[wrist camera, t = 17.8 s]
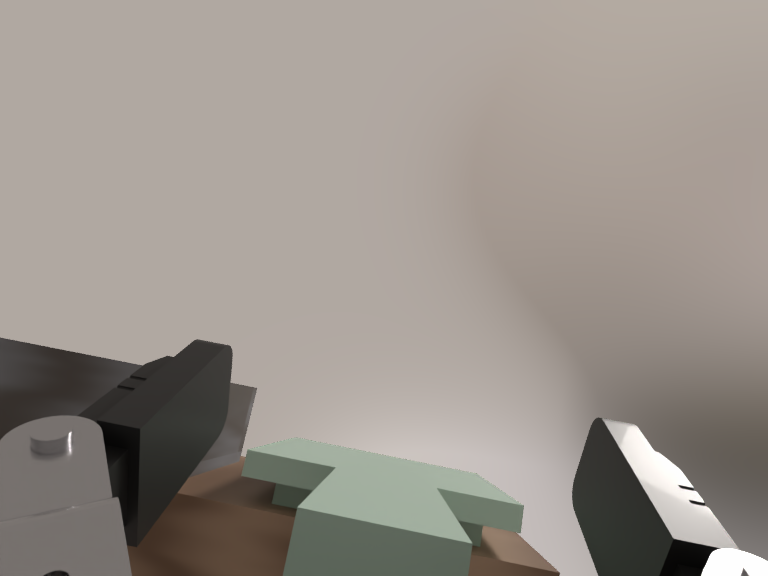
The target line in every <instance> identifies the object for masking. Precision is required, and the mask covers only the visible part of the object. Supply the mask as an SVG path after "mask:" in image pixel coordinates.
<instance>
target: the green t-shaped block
mask: <svg viewBox="0 0 768 576" xmlns="http://www.w3.org/2000/svg"><path fill="white" fill-rule="evenodd" d="M241 476H245V477H249V478H254V479H259V480H264V481H269V482H274V483H276V487H275V491H274V495H273V500H272V504H276V505H281V506H286V507H290V508H295V509H297V511H296V516H295V521H294V525H293V530H292V535H291V539H290V544H289V549H288V553H287V558H286V563H285V567H284V572H283V576H468V573H469V566H470V559H471V551H472V545H473V546H478V547H480V544H481V537H482V530H483V526H488V527H492V528H497V529H502V530H507V531H512V532H517V533H521V525H522V517H523V509H524V505H522V504H521V503H519V502H518V501H516V500H515V499H513V498H512V497H510V496H509V495H507V494H506V493H504V492H503V491H501V490H500V489H499V488H497V487H496V486H494V485H492V484H491V483H490V482H488V481H487V480H485V479H484V478H482V477H480V476H479V475H478V474H476V473H471V472H465V471H461V470H456V469H451V468H446V467H440V466H436V465H430V464H426V463H421V462H416V461H411V460H406V459H401V458H396V457H391V456H386V455H381V454H376V453H371V452H366V451H361V450H356V449H351V448H346V447H341V446H336V445H331V444H326V443H321V442H316V441H311V440H306V439H301V438H291V439H288V440H284V441H280V442H276V443H272V444H268V445H264V446H260V447H256V448H252V449H248V450H247V454H246V458H245V462H244V467H243V471H242V475H241Z"/></svg>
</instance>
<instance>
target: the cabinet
mask: <svg viewBox="0 0 768 576" xmlns="http://www.w3.org/2000/svg"><path fill="white" fill-rule="evenodd" d="M141 367H142V365H137V364H131V363H127V362H122V361H116V360H111V359H106V358H101V357H96V356H91V355H86V354H81V353H75V352H70V351H65V350H60V349H55V348H50V347H45V346H39V345H35V344H30V343H25V342H19V341H15V340H9V339H4V338H0V440H1V439H2V438H3V437H4V436H5V435H6V434H7V433H8V432H10V431H11V430H13V429H14V428H16V427H18V426H20V425H22V424H25V423H27V422H30V421H33V420H36V419H41V418H45V417H51V416H67V415H69V416H77V415H79V414H80V413H81V412H83V411H84V410H85V409H87V408H88V407H89V406H91V405H92V404H93V403H95V402H96V401H97V400H99V399H100V398H101V397H102V396H104V395H105V394H106V393H108V392H109V391H110V390H112V389H113V388H114V387H115V388H117V386H118V384H120V383H121V382H122V381H124V380H125V379H126V378H130V375H131V374H133V373H134V372H135V371H137V370H138V369H139V368H141ZM256 390H257V388H254V387H248V386H244V385H239V384H233V383H230V393H229V405H228V413H227V418H226V421H225V424H224V427H223V430H222V432H221V434H220V436H219V437H218V439H217V440H216V441H215V443H214V444H213V445H212V447H211V448H210V450H209V451H208V452H207V454H206V455H205V456H204V458H203V459H202V460H201V462H200V463H199V464H198V466H197V467H196V468H195V470H194V471H193V472H192V474H191V475H190V476H189V478H188V479H187V481H186V482H185V483H184V485H183V486H182V487H181V489H180V490H179V491H178V493H177V494H176V495H175V497H174V498H173V499H172V501H171V502H170V503H169V505H168V506H167V508H166V509H165V510H164V512H163V513H162V514H161V516H160V517H159V518H158V520H157V521H156V522H155V524H154V525H153V526H152V528H151V529H150V530H149V532H148V533H147V534H146V536H145V537H144V539H143V540H142V541H141V543H140V544H139V545H138V547H133V546H128V545H127V549H128V555H129V561H130V567H131V573H132V576H283V572H284V567H285V563H286V558H287V553H288V549H289V544H290V539H291V535H292V530H293V525H294V521H295V516H296V511H297V509H295V508H290V507H286V506H281V505H276V504H272V500H273V495H274V491H275V487H276V483H274V482H269V481H264V480H259V479H254V478H249V477H245V476H241V475H242V471H243V467H244V462H245V458H246V457H243V456H241V452H242V448H243V444H244V440H245V435H246V431H247V427H248V423H249V419H250V415H251V411H252V407H253V403H254V398H255V395H256ZM559 574H560V573H559V572H558V571H557V570H556V569H555V568H554V567H553V566H552V565H551V564H550V563H549V562H547V561H546V560H545V559H544V558H543V557H542V556H541V555H540V554H539V553H538V552H537V551H535V550H534V549H533V548H532V547H531V546H530V545H529V544H528V543H527V542H526V541H525V540H524V539H523V538H521V537H520V536H519V535H518V534H517V533H516V532H512V531H507V530H502V529H497V528H492V527H488V526H483V530H482V537H481V544H480V547H478V546H473V545H472V551H471V559H470V566H469V573H468V576H559Z"/></svg>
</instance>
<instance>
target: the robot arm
mask: <svg viewBox="0 0 768 576" xmlns="http://www.w3.org/2000/svg"><path fill="white" fill-rule="evenodd" d="M231 369H232V349H231V346H229V345H224V344H218V343H213V342H208V341H203V340H195V341H193V342H192V343H191V344H190V345H188V346H187V347H186V348H185V349H183V350H182V351H181V352H180V353H178V354H177V355H176V356H175V357H170V356H166V357H163V358H160V359H158V360H155V361H152V362H149V363H147V364H145V365H143V366H142V367H141V368H139V369H138V370H137V371H135V372H134V373H133V374H131V375H130V378H126V379H125V380H124V381H122V382H121V383H120V384H118V386H117V388H115V387H114V388H113V389H112V390H110V391H109V392H108V393H106V394H105V395H104V396H102V397H101V398H100V399H99V400H97V401H96V402H95V403H93V404H92V405H91V406H89V407H88V408H87V409H85V410H84V411H83V412H81V413H80V414H79V415H77V416H69V415H67V416H51V417H45V418H41V419H36V420H33V421H30V422H27V423H25V424H22V425H20V426H18V427H16V428H14V429H13V430H11V431H10V432H8V433H7V434H6V435H5V436H4V437H3V438H2V439H1V440H0V576H132V573H131V567H130V561H129V555H128V549H127V545H128V546H133V547H138V545H139V544H140V543H141V541H142V540H143V539H144V537H145V536H146V534H147V533H148V532H149V530H150V529H151V528H152V526H153V525H154V524H155V522H156V521H157V520H158V518H159V517H160V516H161V514H162V513H163V512H164V510H165V509H166V508H167V506H168V505H169V503H170V502H171V501H172V499H173V498H174V497H175V495H176V494H177V493H178V491H179V490H180V489H181V487H182V486H183V485H184V483H185V482H186V481H187V479H188V478H189V476H190V475H191V474H192V472H193V471H194V470H195V468H196V467H197V466H198V464H199V463H200V462H201V460H202V459H203V458H204V456H205V455H206V454H207V452H208V451H209V450H210V448H211V447H212V445H213V444H214V443H215V441H216V440H217V439H218V437H219V436H220V434H221V432H222V430H223V427H224V424H225V421H226V418H227V413H228V405H229V393H230V380H231ZM572 500H573V507H574V511H575V514H576V516H577V519H578V522H579V525H580V527H581V530H582V533H583V535H584V538H585V541H586V543H587V546H588V549H589V551H590V554H591V557H592V559H593V562H594V565H595V568H596V570H597V573H598V576H768V562H767V561H765V560H763V559H761V558H759V557H757V556H754V555H752V554H749V553H746V552H743V551H740V550H739V548H738V547H737V545H736V544H735V543H734V541H733V540H732V539H731V537H730V536H729V535H728V533H727V532H726V531H725V529H724V528H723V527H722V525H721V524H720V523H719V521H718V520H717V519H716V517H715V516H714V514H713V513H712V512H711V511H710V509H709V508H708V507H706V506H705V503H704V501H703V500H702V498H701V497H700V496H699V494H698V493H697V492H696V491H694V487H693V486H692V485H691V483H690V482H689V481H688V479H687V478H686V477H685V475H684V474H683V473H682V471H681V470H680V469H679V468H678V467H676V466H675V465H674V464H673V463H671V462H670V461H669V460H668V459H666V458H665V457H664V456H663V455H661V454H660V453H658V452H655V451H654V450H653V449H652V447H651V446H650V444H649V443H648V441H647V440H646V438H645V437H644V436H643V434H642V433H641V431H640V430H639V428H638V427H637V426H636V425H634V424H630V423H625V422H619V421H614V420H609V419H603V418H596V419H595V420H594V421H593V423H592V425H591V428H590V430H589V434H588V437H587V440H586V443H585V446H584V450H583V453H582V456H581V459H580V462H579V466H578V469H577V472H576V475H575V479H574V483H573V491H572Z"/></svg>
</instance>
